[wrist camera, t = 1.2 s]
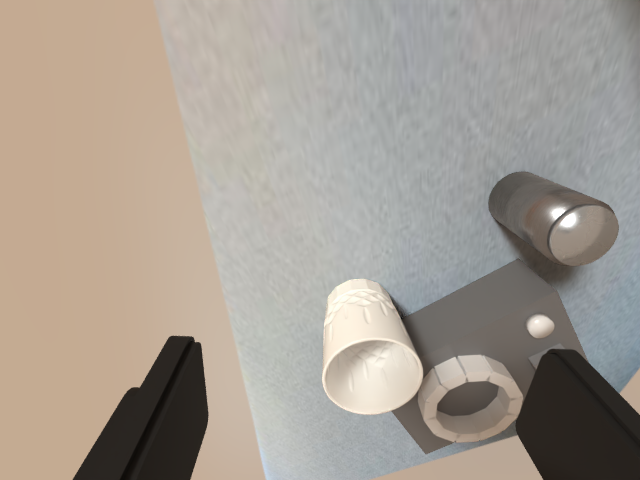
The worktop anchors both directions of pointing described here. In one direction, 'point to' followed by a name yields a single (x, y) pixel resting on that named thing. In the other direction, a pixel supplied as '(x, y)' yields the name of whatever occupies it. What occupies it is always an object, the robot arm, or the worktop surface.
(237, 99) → the worktop surface
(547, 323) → the camera body
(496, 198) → the shiny metal cylinder
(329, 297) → the white cup
